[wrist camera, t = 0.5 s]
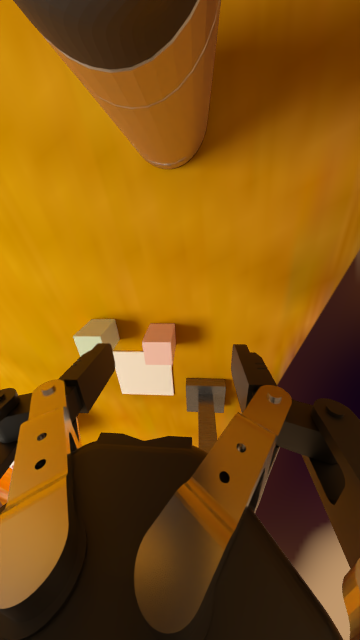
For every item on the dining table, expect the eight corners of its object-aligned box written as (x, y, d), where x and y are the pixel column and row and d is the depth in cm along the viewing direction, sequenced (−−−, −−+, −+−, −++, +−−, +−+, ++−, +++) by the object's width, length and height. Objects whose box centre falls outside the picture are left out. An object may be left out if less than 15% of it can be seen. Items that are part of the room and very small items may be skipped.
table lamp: (186, 378, 40) (172, 592, 17) (224, 379, 39) (264, 604, 16) (187, 409, 44) (178, 610, 21) (221, 410, 44) (250, 620, 21)
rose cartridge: (150, 323, 34) (141, 342, 29) (174, 323, 34) (170, 342, 28) (153, 343, 36) (145, 364, 31) (176, 344, 36) (172, 365, 31)
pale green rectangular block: (91, 319, 35) (73, 336, 29) (115, 318, 34) (100, 336, 29) (97, 339, 37) (81, 358, 31) (119, 339, 36) (106, 359, 31)
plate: (111, 350, 38) (111, 351, 38) (170, 351, 37) (170, 352, 36) (122, 392, 43) (122, 393, 43) (173, 394, 42) (173, 395, 42)
